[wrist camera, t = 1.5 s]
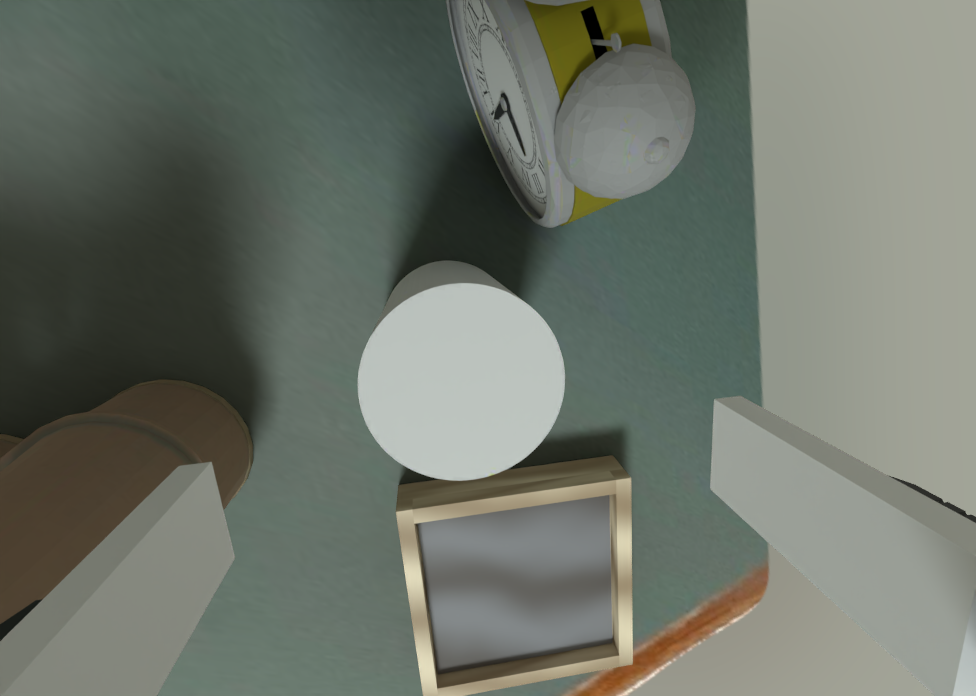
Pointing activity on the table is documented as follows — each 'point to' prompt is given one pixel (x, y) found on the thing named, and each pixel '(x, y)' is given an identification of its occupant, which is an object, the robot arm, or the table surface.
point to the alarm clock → (574, 98)
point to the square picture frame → (519, 574)
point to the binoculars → (104, 476)
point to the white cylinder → (459, 374)
